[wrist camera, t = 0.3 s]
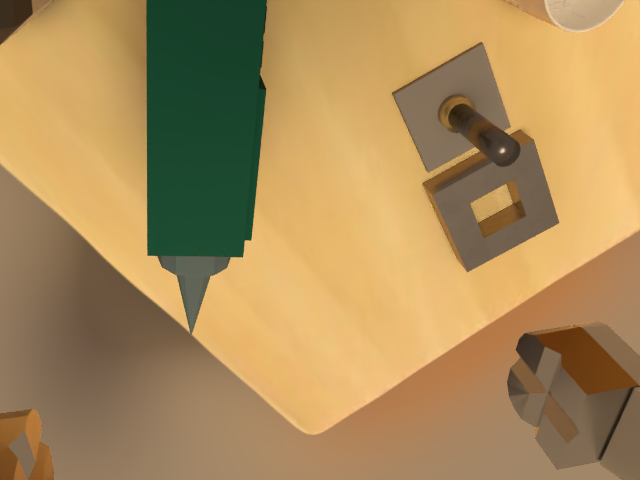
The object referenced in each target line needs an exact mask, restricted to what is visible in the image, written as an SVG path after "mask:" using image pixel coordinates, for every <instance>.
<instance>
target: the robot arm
mask: <svg viewBox="0 0 640 480" xmlns="http://www.w3.org/2000/svg"><path fill="white" fill-rule="evenodd" d="M516 351H517V353H518V354H519V356H520V359H519V360H518V361H517V362H516V363H515V364H514V365H513V366H512V367H511V368H510V372H509V376H508V380H507V385H508V392H509V397H510V400H511V402H512V404H513V407H514V409H515V410H516V412H517V413H518V415H519V416H520V418H521V419H523V420H524V421H526V422H528V423H529V424H532V425H533V426H535V427H536V433H535V439H536V440H537V442H538V443H539V444H540V446H541V447H542V449H543V450H544V452H545V453H546V454H547V456H548V457H549V459H550V460H551V462H552V463H553V464H554V466H555V467H556V469H562V468H568V467H573V466H578V465H584V464H589V463H594V462H599V461H601V462H600V465H602V466H603V467H605V468H606V469H607V470H609V471H610V472H612V473H613V474H615V475H616V476H617V477H619V478H620V479H622V480H640V356H639V355H638V354H637V353H636V352H635V351H634V350H633V349H632V348H631V347H630V346H628V344H627V343H625V342H624V341H623V340H622V339H621V338H620V337H619V336H618V335H617V334H616V333H615V332H614V331H613V330H612V329H611V328H610V327H609V326H607V325H606V324H604V323H602V322H599V321H596V322H590V323H583V324H578V325H573V326H565V327H559V328H553V329H547V330H541V331H535V332H529V333H524V334H523V335H522V337H521V338H520V339H519V341H518V344H517V347H516ZM41 430H42V424H41V421H40V419H39V416H38V413H37V411H36V410H32V409H31V410H23V411H16V412H7V413H1V414H0V480H54V469H53V463H52V456H51V453H50V450H49V446H47V445H46V444H44V443H42V442H41V441H40V435H41Z"/></svg>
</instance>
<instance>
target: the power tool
mask: <svg viewBox="0 0 640 480" xmlns="http://www.w3.org/2000/svg"><path fill="white" fill-rule="evenodd" d="M266 2H267V0H147V249H148V256H158V259H159V261H160V264H161V266H162V268H164V269H166V270H168V271H170V272H171V273H173V274H175V275H177V278H178V282H179V287H180V291H181V295H182V299H183V303H184V308H185V312H186V316H187V320H188V324H189V328H190V333H191V335H192V332H193V329H194V326H195V322H196V319H197V316H198V313H199V310H200V307H201V304H202V301H203V298H204V295H205V292H206V288H207V285H208V282H209V279H210V276H213V275H215V274H217V273H219V272H221V271H222V270H224V269H226V268H227V266H228V263H229V261H230V257H243V252H244V242H245V240H251V238H252V228H253V218H254V207H255V197H256V187H257V177H258V167H259V157H260V147H261V136H262V126H263V116H264V106H265V96H266V88H265V85H264V83H263V81H262V78H261V76H260V68H261V65H262V54H263V43H264V42H263V35H264V32H265V21H266V11H267V6H266Z"/></svg>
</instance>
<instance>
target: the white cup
mask: <svg viewBox="0 0 640 480" xmlns="http://www.w3.org/2000/svg"><path fill="white" fill-rule="evenodd" d="M504 1H506V2H508V3H510V4H512V5H514V6H516V7H518V8H520V9H521V10H522V11H524V12H526V13H528V14H529V15H532V16H534V17H536V18H537V19H540V20H542V21H545V22H547V23H549V24H551V25H553V26H556V27H558V28H560V29H562V30H565V31H568V32H573V33H581V32H586V31H590V30H593V29H595V28H597V27H599V26H601V25H602V24H604V23H605V22H607V21H608V20H609V19H610V18H611V17H612V16H613V15H614V14H615V13H616V12H617V11H618V10H619V9H620V7H621V6H622V5H623V3H624V2H625V0H504Z"/></svg>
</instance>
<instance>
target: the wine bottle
mask: <svg viewBox="0 0 640 480" xmlns="http://www.w3.org/2000/svg"><path fill="white" fill-rule="evenodd" d="M52 1H53V0H0V45H1V44H2V43H3V42H4V41H6V40H7V39H8V38H10V37H11V36H12V35H13V34H15V33H16V32H17V31H19V30H20V29H21V28H22V27H24V26H25V25H26V24H27V23H29V22H30V21H31V20H33V19H34V18H35V17H36V16H37V15H38V14H39V13H40V12H41V11H42V10H43V9H44V8H45V7H46V6H47V5H48V4H49V3H50V2H52Z"/></svg>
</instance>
